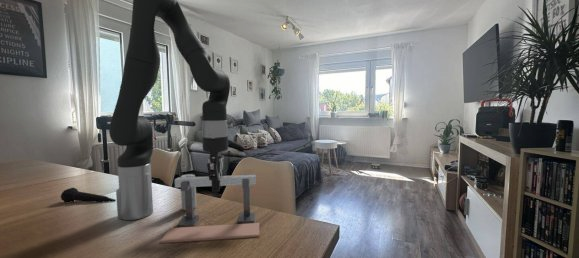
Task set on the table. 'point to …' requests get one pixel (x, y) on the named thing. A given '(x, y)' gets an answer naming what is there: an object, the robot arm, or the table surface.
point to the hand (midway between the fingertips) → (216, 190)
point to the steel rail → (223, 180)
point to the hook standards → (192, 219)
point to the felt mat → (211, 232)
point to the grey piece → (184, 194)
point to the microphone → (82, 196)
